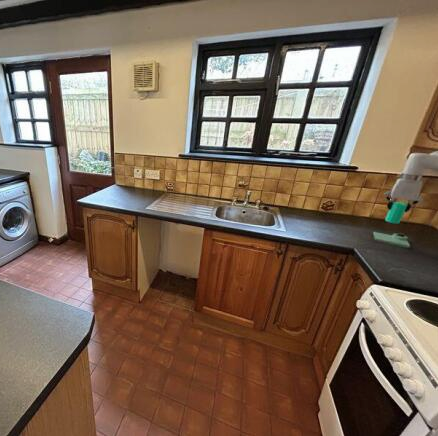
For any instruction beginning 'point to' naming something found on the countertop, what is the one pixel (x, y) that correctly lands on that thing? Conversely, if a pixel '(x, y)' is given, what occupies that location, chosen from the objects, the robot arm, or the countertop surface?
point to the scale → (392, 239)
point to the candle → (396, 212)
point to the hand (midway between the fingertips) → (397, 209)
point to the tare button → (400, 234)
